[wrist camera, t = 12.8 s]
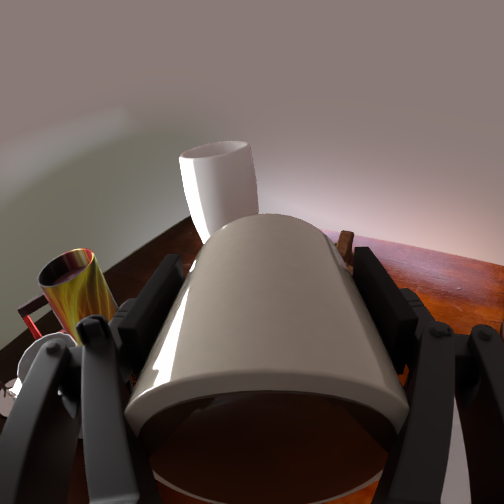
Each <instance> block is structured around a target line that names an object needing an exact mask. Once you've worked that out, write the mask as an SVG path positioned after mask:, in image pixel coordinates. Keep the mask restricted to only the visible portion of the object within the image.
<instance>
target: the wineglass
mask: <svg viewBox="0 0 504 504" xmlns="http://www.w3.org/2000/svg"><path fill="white" fill-rule="evenodd" d="M21 386H22V385H21V383H20V381H19V379H18V378H17V379H13V380H11V381H9V382H8V383H7V384H6V385H4V384H3V383H2V382H1V381H0V387H1V388H2V389H1V391H0V414H1V415H3V416H4V417H8V415H9V413H10V411H11V408H12V406H13V403H14V401H15V399H16V397H17V394H18V392H19V390H20V388H21Z"/></svg>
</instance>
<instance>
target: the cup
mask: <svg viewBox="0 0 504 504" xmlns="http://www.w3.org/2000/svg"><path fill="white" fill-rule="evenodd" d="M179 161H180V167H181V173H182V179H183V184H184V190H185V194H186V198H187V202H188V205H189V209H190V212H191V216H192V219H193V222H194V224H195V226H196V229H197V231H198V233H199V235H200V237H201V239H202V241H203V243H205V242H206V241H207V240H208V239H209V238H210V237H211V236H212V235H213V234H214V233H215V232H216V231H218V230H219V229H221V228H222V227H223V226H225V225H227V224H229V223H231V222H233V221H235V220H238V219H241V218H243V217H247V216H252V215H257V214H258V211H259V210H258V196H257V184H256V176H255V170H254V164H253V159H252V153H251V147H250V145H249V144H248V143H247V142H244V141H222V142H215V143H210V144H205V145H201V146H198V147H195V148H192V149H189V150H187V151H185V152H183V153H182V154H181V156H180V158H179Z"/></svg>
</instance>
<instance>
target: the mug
mask: <svg viewBox="0 0 504 504" xmlns="http://www.w3.org/2000/svg"><path fill="white" fill-rule="evenodd" d="M37 282H38V284H39V286H40V288H41V290H42V293H40V294H38V295H37V296H35V297H33V298H31V299H30V300H28V301H26V302H25V303H23V304H21V305H20V306H18V307H17V310H18V312H19V314H20V315H21V317H22V318H23V320H24V322H25V323H26V325H27V326H28V328H29V329H30V331H31V332H32V334H33V336H34V338H35V339H36V341H37V340H39V339H41V338H42V335H41V334H40V332H39V331H38V329H37V328H36V326H35V325H34V323H33V322H32V320H31V318H30V317H29V314H31V313H33V312H34V311H36V310H38V309H39V308H41V307H43V306H44V305H46V304H48V303H49V305H50V306H51V308H52V310H53V312H54V313H55V315H56V317H57V318H58V320H59V322H60V323H61V325H62V327H63V328H64V329H62V330H61V331H59V332H60V333H64V334H68V335H70V336H71V337H72V338H73V339H74V340H75V342H76V343H77V344H78V346H83V344H82V342H81V340H80V337H79V335H78V333H77V330H76V328H75V327H76V325H77V323H78V322H79V321H80V320H82V319H83V318H85V317H87V316H90V315H96V314H98V315H103V316H105V317H106V319H107V322H108V323H109V322H110V320H111V319H112V317H113V316H114V314H115V313H116V312H117V310H118V307H117V305H116V303H115V301H114V298H113V296H112V294H111V292H110V290H109V288H108V285H107V283H106V281H105V279H104V276H103V274H102V272H101V269H100V267H99V265H98V262H97V260H96V257H95V255H94V253H93V251H92V250H90V249H87V248H81V249H75V250H71V251H68V252H66V253H64V254H62V255H60V256H58V257H56V258H55V259H53V260H52V261H50V262H49V263H48V264H47V265H46V266H45V267H44V268H43V269H42V270H41V271H40V273H39V275H38V278H37ZM59 332H58V333H59Z"/></svg>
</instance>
